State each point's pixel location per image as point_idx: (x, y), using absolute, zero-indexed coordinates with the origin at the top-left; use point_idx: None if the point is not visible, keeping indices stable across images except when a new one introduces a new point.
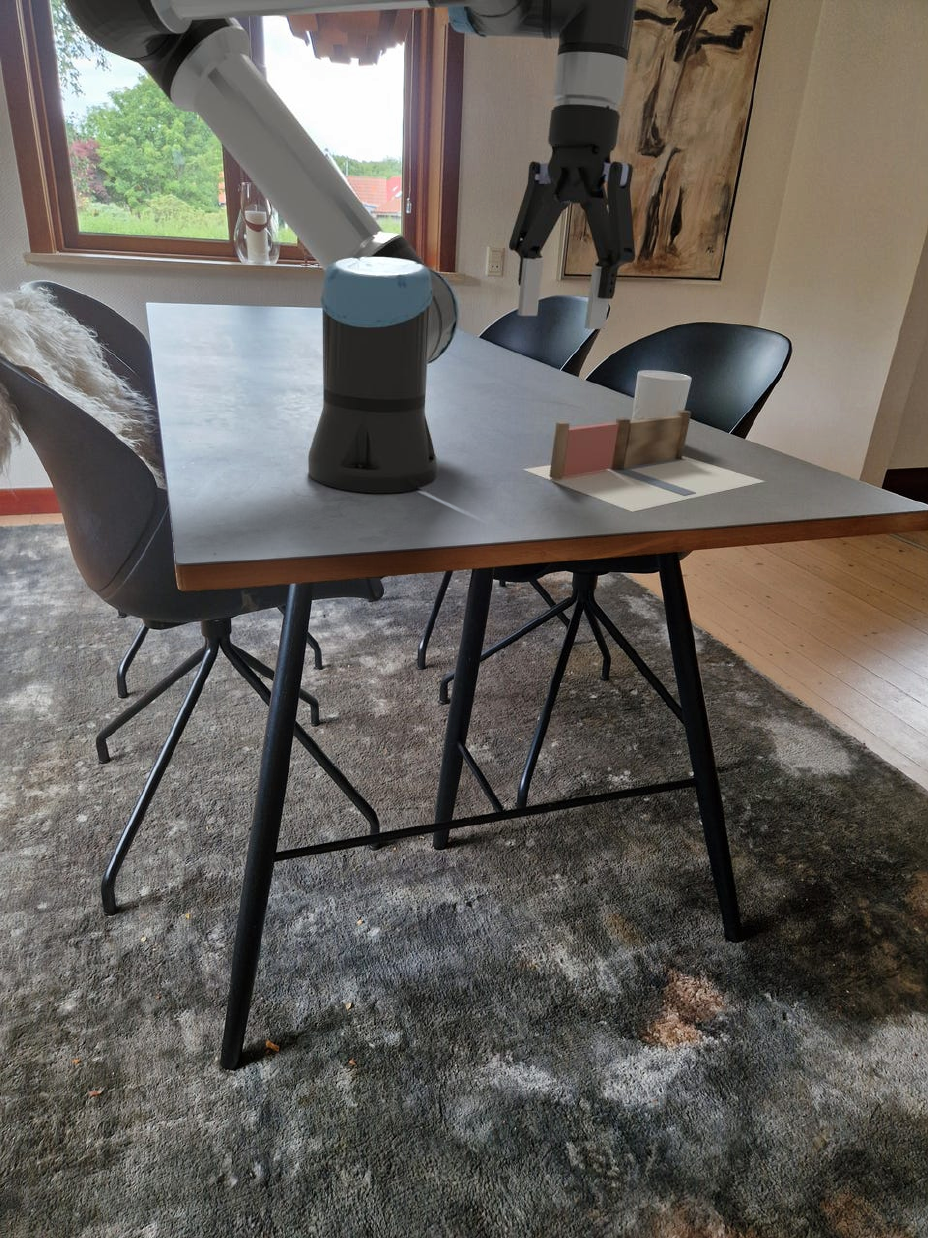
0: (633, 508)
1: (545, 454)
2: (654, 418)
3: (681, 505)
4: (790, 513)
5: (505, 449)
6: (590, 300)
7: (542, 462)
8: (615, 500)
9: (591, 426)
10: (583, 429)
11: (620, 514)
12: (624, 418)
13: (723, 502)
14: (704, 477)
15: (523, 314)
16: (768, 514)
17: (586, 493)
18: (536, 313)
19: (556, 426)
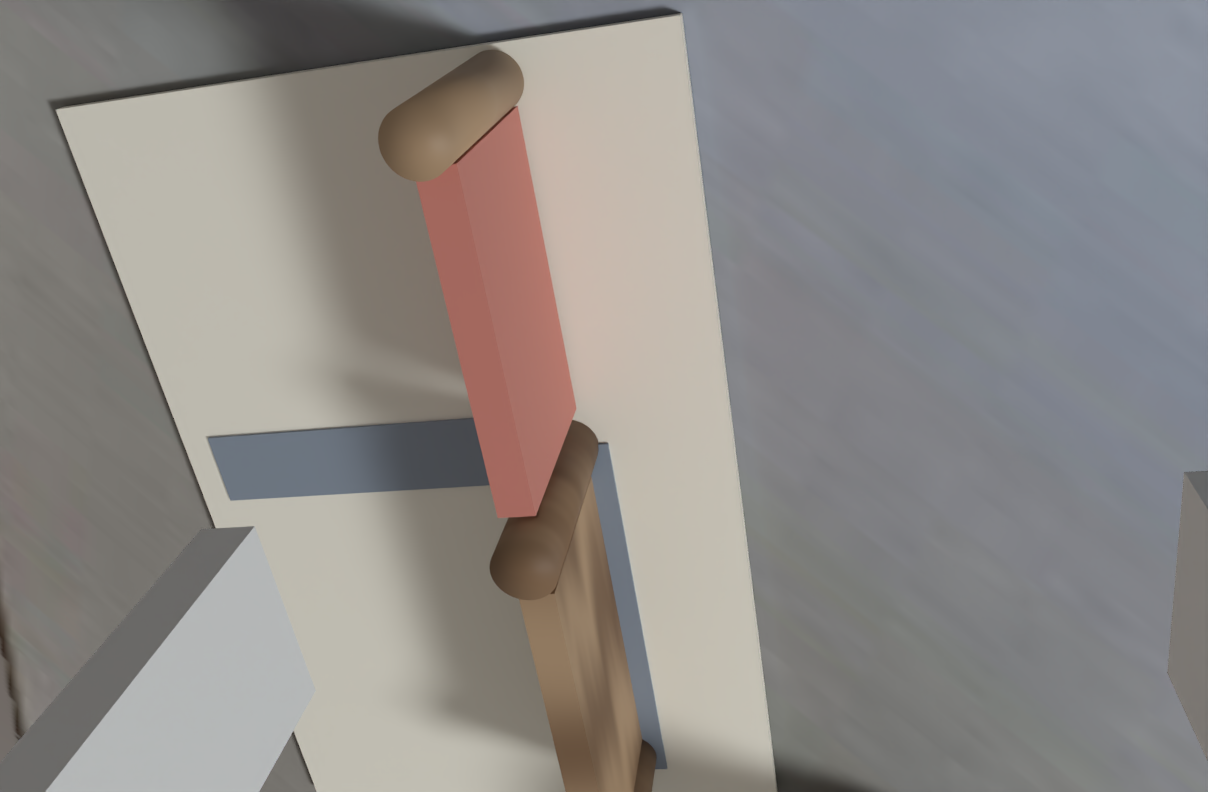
0: (91, 144)
1: (915, 331)
2: (582, 753)
3: (155, 374)
4: (56, 629)
5: (1084, 188)
6: (92, 695)
7: (801, 228)
8: (187, 142)
9: (470, 348)
10: (441, 276)
11: (77, 70)
12: (534, 585)
13: (170, 530)
14: (392, 662)
15: (1189, 506)
16: (51, 564)
17: (285, 82)
18: (1172, 677)
19: (423, 99)
